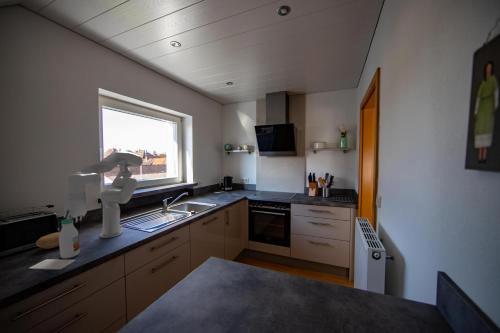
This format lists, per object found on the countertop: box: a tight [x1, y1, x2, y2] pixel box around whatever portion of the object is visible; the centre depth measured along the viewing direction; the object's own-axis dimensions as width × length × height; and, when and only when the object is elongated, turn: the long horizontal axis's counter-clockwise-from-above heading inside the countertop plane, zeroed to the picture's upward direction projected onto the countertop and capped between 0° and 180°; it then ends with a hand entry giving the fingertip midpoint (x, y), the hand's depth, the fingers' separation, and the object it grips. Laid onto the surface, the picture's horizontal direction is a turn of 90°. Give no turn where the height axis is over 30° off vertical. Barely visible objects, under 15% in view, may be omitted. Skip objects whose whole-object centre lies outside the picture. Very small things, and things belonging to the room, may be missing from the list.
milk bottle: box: [58, 218, 81, 260], centre depth 104 cm, size 8×8×20 cm
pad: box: [28, 258, 76, 270], centre depth 96 cm, size 8×15×1 cm, turn 91°
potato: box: [35, 231, 61, 250], centre depth 114 cm, size 10×14×8 cm
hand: (76, 228), depth 109 cm, fingers closed
